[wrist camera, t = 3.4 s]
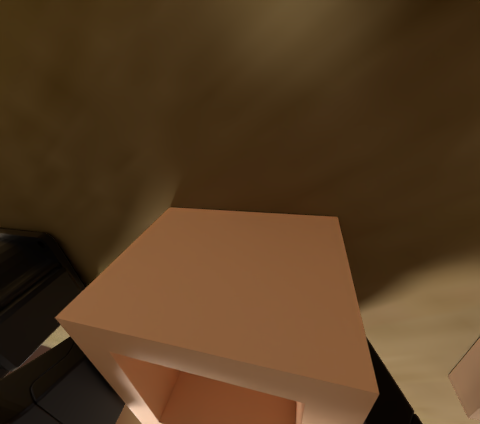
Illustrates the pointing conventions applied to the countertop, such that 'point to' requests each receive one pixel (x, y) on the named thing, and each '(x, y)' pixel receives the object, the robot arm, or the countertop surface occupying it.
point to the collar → (230, 322)
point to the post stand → (468, 381)
